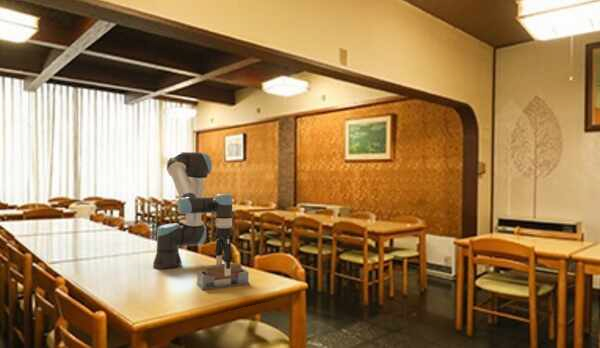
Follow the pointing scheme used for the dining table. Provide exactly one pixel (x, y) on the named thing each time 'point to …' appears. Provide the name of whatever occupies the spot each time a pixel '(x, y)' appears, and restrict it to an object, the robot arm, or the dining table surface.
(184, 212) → the robot arm
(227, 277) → the brown wooden block
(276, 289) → the dining table surface
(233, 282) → the bracket
